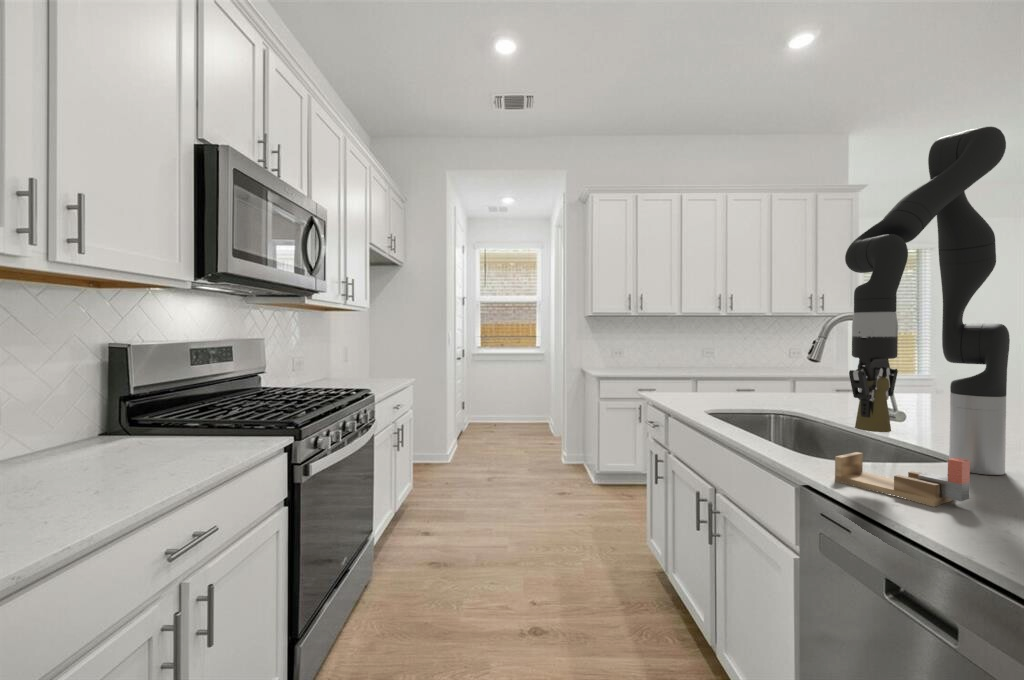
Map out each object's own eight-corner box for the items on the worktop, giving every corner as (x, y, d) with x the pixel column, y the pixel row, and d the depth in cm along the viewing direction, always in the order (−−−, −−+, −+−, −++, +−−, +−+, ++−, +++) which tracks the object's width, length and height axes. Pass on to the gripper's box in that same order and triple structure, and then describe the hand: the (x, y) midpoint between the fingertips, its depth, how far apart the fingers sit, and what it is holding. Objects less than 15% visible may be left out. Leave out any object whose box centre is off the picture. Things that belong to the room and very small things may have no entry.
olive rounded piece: (897, 432, 96) (898, 377, 96) (863, 431, 98) (864, 376, 97) (881, 426, 102) (882, 374, 102) (849, 425, 104) (849, 374, 103)
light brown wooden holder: (856, 475, 107) (856, 452, 107) (954, 499, 92) (955, 472, 91) (834, 480, 103) (835, 456, 103) (933, 506, 88) (934, 478, 88)
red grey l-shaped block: (925, 488, 93) (926, 452, 93) (969, 498, 88) (969, 460, 88) (917, 490, 92) (918, 453, 92) (961, 501, 86) (962, 462, 86)
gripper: (872, 334, 106) (871, 413, 107) (834, 334, 100) (833, 418, 100) (913, 334, 100) (912, 418, 100) (875, 335, 93) (874, 424, 93)
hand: (873, 418), depth 100 cm, fingers closed on olive rounded piece, 3 cm apart
